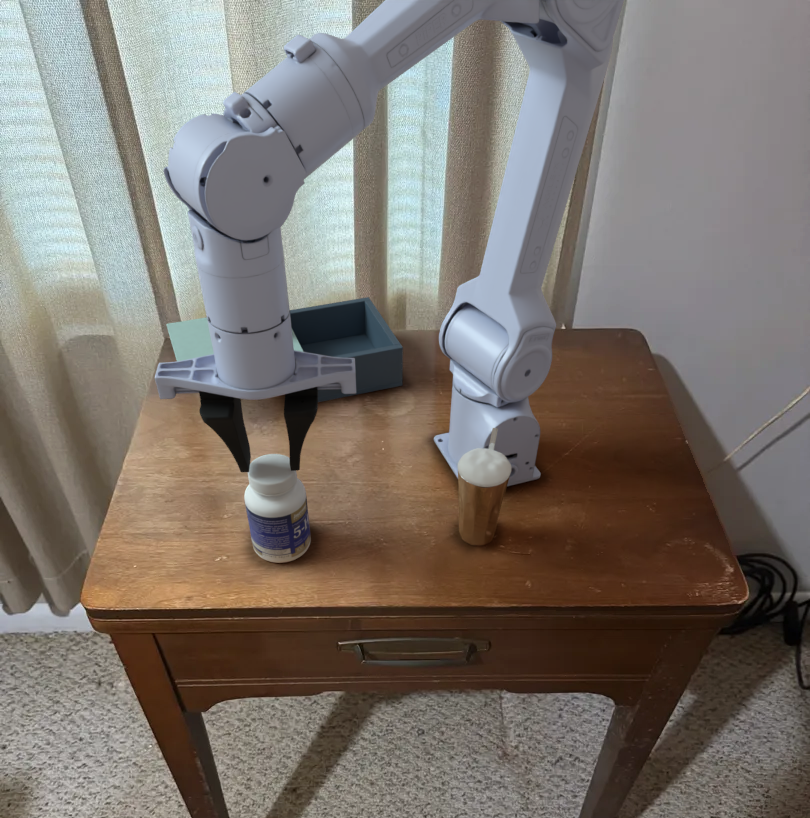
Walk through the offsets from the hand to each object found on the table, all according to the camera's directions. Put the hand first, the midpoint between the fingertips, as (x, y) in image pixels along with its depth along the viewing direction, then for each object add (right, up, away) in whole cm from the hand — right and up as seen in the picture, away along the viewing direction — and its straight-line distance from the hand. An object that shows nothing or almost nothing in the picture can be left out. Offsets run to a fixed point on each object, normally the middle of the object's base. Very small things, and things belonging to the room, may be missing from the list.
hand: (270, 463), depth 62 cm
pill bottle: (0, -7, +7) cm, 10 cm away
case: (+3, +14, +27) cm, 30 cm away
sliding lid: (-8, +15, +20) cm, 26 cm away
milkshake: (+18, -6, +8) cm, 20 cm away
